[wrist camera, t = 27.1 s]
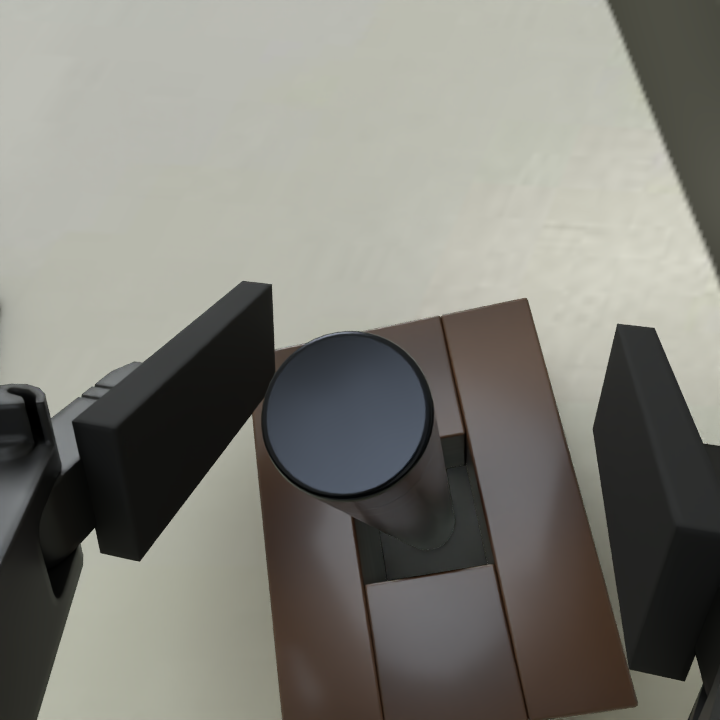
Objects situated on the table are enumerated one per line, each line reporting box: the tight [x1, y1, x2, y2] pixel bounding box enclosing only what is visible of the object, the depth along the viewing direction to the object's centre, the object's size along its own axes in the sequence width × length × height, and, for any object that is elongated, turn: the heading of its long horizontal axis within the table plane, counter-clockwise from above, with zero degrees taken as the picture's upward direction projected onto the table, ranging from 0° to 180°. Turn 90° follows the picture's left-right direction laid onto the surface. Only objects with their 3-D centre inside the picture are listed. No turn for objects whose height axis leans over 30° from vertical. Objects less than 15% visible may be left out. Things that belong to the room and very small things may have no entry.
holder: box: [252, 298, 638, 720], centre depth 18 cm, size 10×8×5 cm
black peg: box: [261, 331, 455, 550], centre depth 13 cm, size 2×2×15 cm
